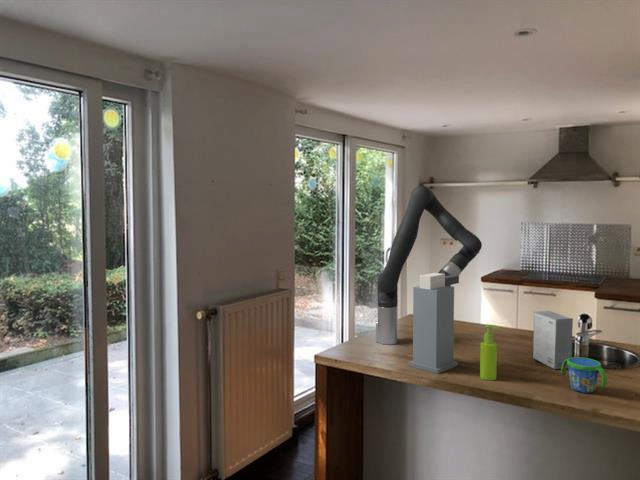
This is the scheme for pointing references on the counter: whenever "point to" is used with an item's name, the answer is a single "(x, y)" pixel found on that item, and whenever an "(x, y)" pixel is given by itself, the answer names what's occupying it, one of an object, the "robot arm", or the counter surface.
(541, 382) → the counter surface
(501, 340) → the counter surface
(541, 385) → the counter surface
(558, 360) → the hard drive box
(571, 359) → the snack cup
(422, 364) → the grey rectangular pillar
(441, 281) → the block
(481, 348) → the soap dispenser
